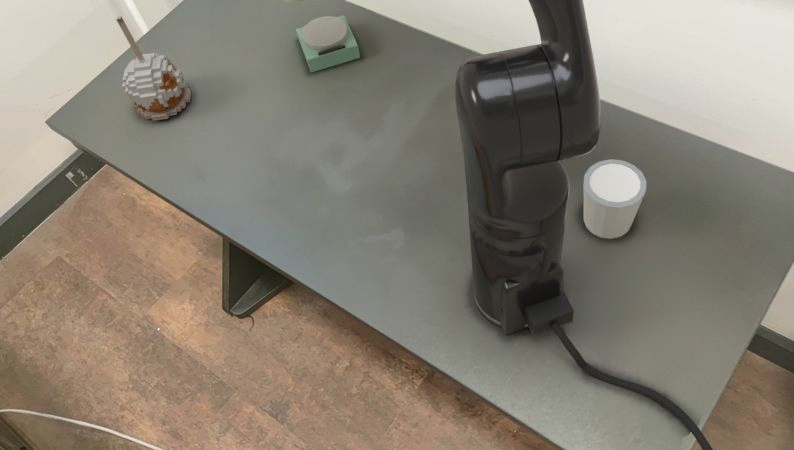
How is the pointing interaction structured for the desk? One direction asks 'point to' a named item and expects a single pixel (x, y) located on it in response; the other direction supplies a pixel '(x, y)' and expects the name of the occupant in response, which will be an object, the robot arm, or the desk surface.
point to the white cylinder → (612, 197)
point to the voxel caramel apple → (153, 83)
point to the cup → (293, 1)
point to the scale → (327, 42)
